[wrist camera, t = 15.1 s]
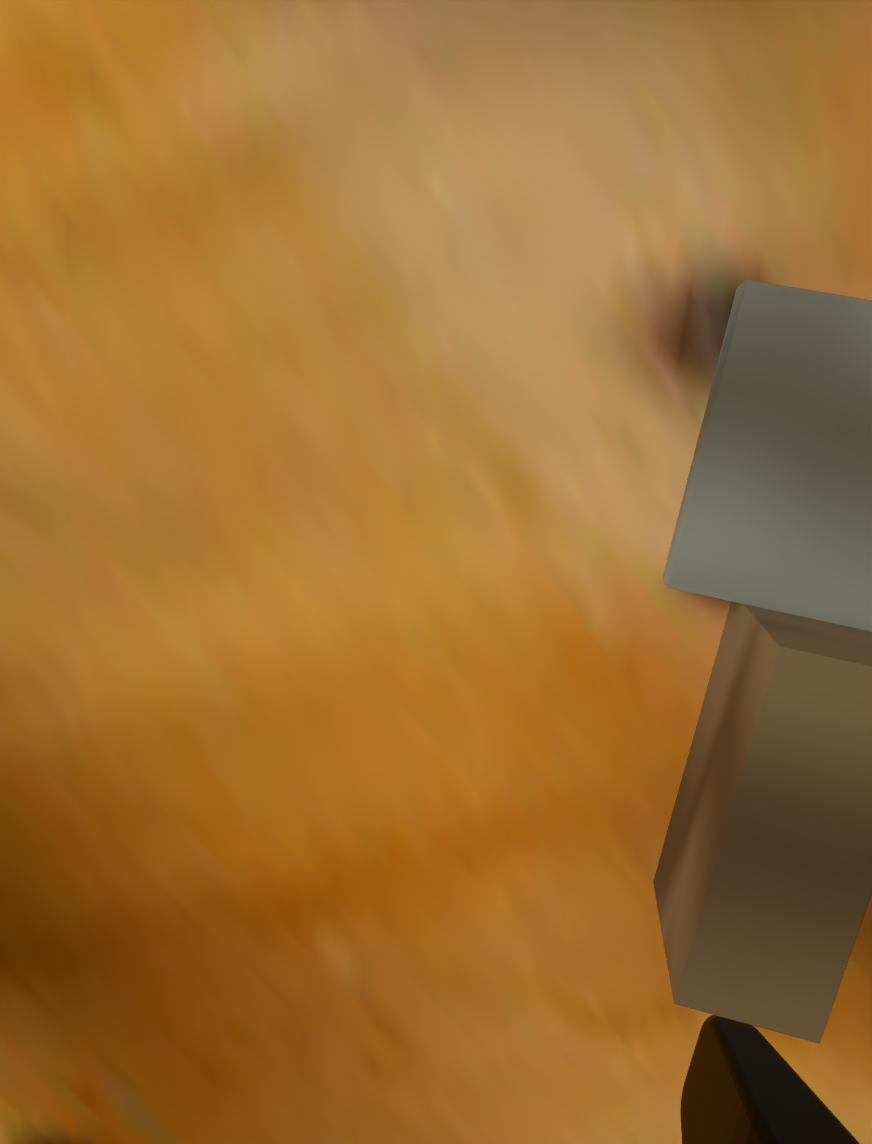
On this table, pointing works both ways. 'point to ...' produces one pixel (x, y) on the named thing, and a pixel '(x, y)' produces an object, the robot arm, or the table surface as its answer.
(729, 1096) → the robot arm
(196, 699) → the table surface
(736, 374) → the turner
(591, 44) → the table surface
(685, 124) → the table surface
